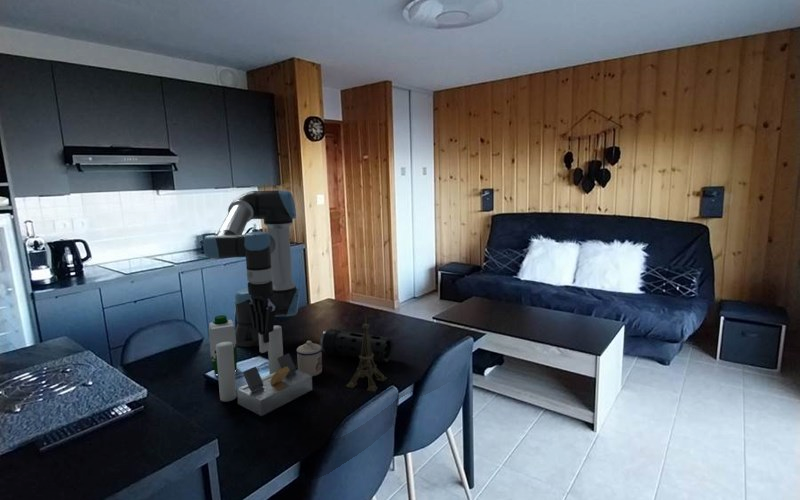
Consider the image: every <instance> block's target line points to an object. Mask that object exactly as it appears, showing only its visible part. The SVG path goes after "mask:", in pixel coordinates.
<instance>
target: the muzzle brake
mask: <svg viewBox="0 0 800 500" xmlns="http://www.w3.org/2000/svg"><path fill="white" fill-rule="evenodd" d="M369 339H370V345H371V352H372V353H373V354H374V356H373V360H374V362H375V363H382V364H388V362H389V361H390V359H391V357H392V355H393V349H394V342H393V339H392V338H391V337H387V336H379V335H373V334H369ZM362 342H363V333H358V332H352V331H346V330H345V331H344V330H343V331H342V330H341V329H338V328H337V329H336V328H329V329H325V330H323V331H322V332H321V334H320V337H319V345H320V346H321V347H322V351H324V352H325V353H327V354H334V355H336V354H337V356H339V357H344V358H346V357H348V356H349V357H354V358H358V359H359V360H360V358H359V355H361V351H362Z"/></svg>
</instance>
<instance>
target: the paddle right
mask: <svg viewBox="0 0 800 500" xmlns="http://www.w3.org/2000/svg"><path fill="white" fill-rule="evenodd" d="M277 360H278V362H279V364H280V367H281V369H282V368H284V367H287V366H288V368H289V369H290V371H289V372H288V374H287V375H286V376H288V375H290V374H292V373H295V372H296V370H297V369H296V365H295V364H294V361H293V359H292V357H291V354H290V353H286V354H283V356H281V357H279V358H278V359H277Z"/></svg>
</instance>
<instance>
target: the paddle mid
mask: <svg viewBox="0 0 800 500" xmlns="http://www.w3.org/2000/svg"><path fill="white" fill-rule="evenodd" d="M289 371H290V369H289V368H288V366H287V367H284V368H282V369H280V370H277V371H276V373H275V374H274V376H273V377H272V379H271V381H270V384H271V385H273V384H275V383H277V382H280V381H282V380H284V378H285V377H286V375H287V374H288V372H289Z"/></svg>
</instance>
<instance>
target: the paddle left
mask: <svg viewBox="0 0 800 500" xmlns="http://www.w3.org/2000/svg"><path fill="white" fill-rule="evenodd" d="M242 374H243V377H244V379H245V382H246V385H247V384H248V387H249V389H250V390H251V392H253V391H255V390H257V389H259V388H262V387H263V386H264V385H263V381H262V379H261V378H262V377H261V374H260V373H259V370H258V368H257V366H254V367H252V368H250V369H246V370H244V371H243V372H242Z"/></svg>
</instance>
